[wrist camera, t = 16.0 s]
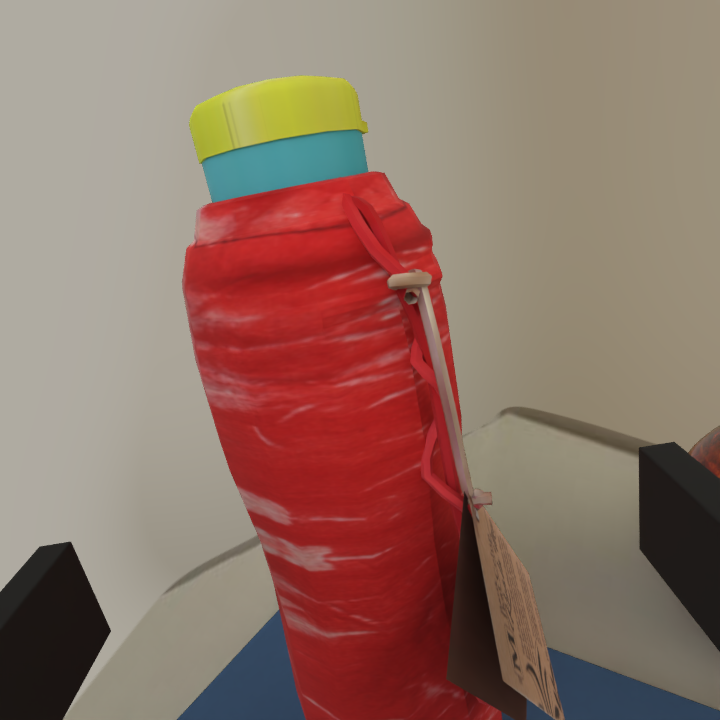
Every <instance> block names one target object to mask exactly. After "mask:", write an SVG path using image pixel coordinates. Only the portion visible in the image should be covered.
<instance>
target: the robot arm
mask: <svg viewBox="0 0 720 720" xmlns="http://www.w3.org/2000/svg"><path fill="white" fill-rule="evenodd" d="M639 526H640V550H641V551H642V553H643V554H644V555H645V556H646V558H647V559H648V560H649V562H650V563H651V564H652V565H653V567H654V568H655V569H656V571H657V572H658V573H659V574H660V576H661V577H662V578H663V579H664V581H665V582H666V583H667V585H668V586H669V587H670V588H671V590H672V591H673V592H674V594H675V595H676V596H677V597H678V599H679V600H680V601H681V603H682V604H683V605H684V606H685V608H686V609H687V610H688V612H689V613H690V614H691V615H692V617H693V618H694V619H695V621H696V622H697V623H698V624H699V626H700V627H701V628H702V629H703V631H704V632H705V633H706V635H707V636H708V637H709V638H710V640H711V641H712V642H713V644H714V645H715V646H716V647H717V649H718V650H719V651H720V478H718V477H717V476H716V475H715V474H713V473H712V472H711V471H710V470H708V469H707V468H706V467H705V466H703V465H702V464H701V463H700V462H698V461H697V460H696V459H695V458H694V457H692V456H691V455H690V454H689V453H687V452H686V451H685V450H684V449H682V448H681V447H680V446H679V445H677V444H676V443H675V442H671V443H665V444H658V445H652V446H646V447H640V448H639ZM110 632H111V630H110V628H109V625H108V623H107V621H106V619H105V616H104V614H103V612H102V610H101V608H100V605H99V603H98V601H97V599H96V596H95V594H94V592H93V590H92V588H91V585H90V583H89V581H88V579H87V576H86V574H85V572H84V570H83V568H82V565H81V564H80V561H79V559H78V556H77V554H76V552H75V550H74V548H73V545H72V543H71V542H66V543H59V544H53V545H47V546H41V547H39V548H38V549H37V550H36V552H35V553H34V554H33V555H32V556H31V557H30V558H29V560H28V561H27V562H26V563H25V564H24V565H23V566H22V568H21V569H20V570H19V571H18V572H17V573H16V574H15V576H14V577H13V578H12V579H11V580H10V581H9V583H8V584H7V585H6V586H5V587H4V588H3V589H2V591H1V592H0V720H63V718H64V716H65V714H66V712H67V711H68V709H69V707H70V705H71V703H72V701H73V699H74V697H75V696H76V694H77V692H78V690H79V689H80V686H81V685H82V683H83V681H84V679H85V677H86V676H87V674H88V672H89V670H90V668H91V667H92V665H93V663H94V661H95V659H96V658H97V656H98V654H99V652H100V650H101V648H102V647H103V645H104V643H105V641H106V639H107V637H108V635H109V634H110Z"/></svg>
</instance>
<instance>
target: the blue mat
mask: <svg viewBox="0 0 720 720" xmlns="http://www.w3.org/2000/svg"><path fill="white" fill-rule="evenodd" d="M547 650H548V654H549V658H550V662H551V666H552V670H553V674H554V678H555V682H556V686H557V690H558V694H559V698H560V702H561V706H562V710H563V714H564V718H565V720H720V711H719V710H716V709H713V708H711V707H708V706H705V705H702V704H700V703H697V702H694V701H692V700H689V699H686V698H683V697H681V696H678V695H675V694H673V693H670V692H667V691H664V690H662V689H659V688H656V687H654V686H651V685H648V684H646V683H643V682H640V681H637V680H635V679H632V678H629V677H627V676H624V675H621V674H618V673H616V672H613V671H610V670H608V669H605V668H602V667H599V666H597V665H594V664H591V663H589V662H586V661H583V660H580V659H578V658H575V657H572V656H570V655H567V654H564V653H561V652H559V651H556V650H553V649H551V648H548V647H547ZM501 714H502V720H515V719H513V718H511V717H510V716H508V715H506V714H505V713H503V712H501ZM177 720H306V718H305V715H304V712H303V709H302V706H301V703H300V700H299V697H298V693H297V690H296V686H295V681H294V676H293V672H292V667H291V662H290V657H289V653H288V648H287V643H286V639H285V634H284V629H283V624H282V620H281V615H280V610H278V611H277V612H276V614H275V615H274V616H273V617H272V618H271V619H270V620H269V621H268V622H267V623H266V624H265V625H264V626H263V628H262V629H261V630H260V631H259V632H258V633H257V634H256V635H255V636H254V637H253V638H252V639H251V640H250V642H249V643H248V644H247V645H246V646H245V647H244V648H243V649H242V650H241V651H240V652H239V653H238V654H237V656H236V657H235V658H234V659H233V660H232V661H231V662H230V663H229V664H228V665H227V666H226V667H225V668H224V670H223V671H222V672H221V673H220V674H219V675H218V676H217V677H216V678H215V679H214V680H213V681H212V682H211V684H210V685H209V686H208V687H207V688H206V689H205V690H204V691H203V692H202V693H201V694H200V695H199V696H198V698H197V699H196V700H195V701H194V702H193V703H192V704H191V705H190V706H189V707H188V708H187V709H186V710H185V712H184V713H183V714H182V715H181V716H180V717H179V718H178V719H177ZM526 720H555V719H553V718H552V717H551V716H549V715H548V714H547V713H545V712H544V711H543V710H541V709H540V708H539V707H537V706H536V705H535V704H533V703H532V702H531V701H529V700H528V699H527V717H526Z"/></svg>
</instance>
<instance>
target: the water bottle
mask: <svg viewBox="0 0 720 720" xmlns="http://www.w3.org/2000/svg"><path fill="white" fill-rule="evenodd" d="M189 126H190V130H191V134H192V138H193V141H194V145H195V149H196V152H197V156H198V160H199V163H201V164H202V166H203V169H204V173H205V176H206V180H207V184H208V188H209V191H210V195H211V199H212V203H210V204H207V205H204V206H203V207H201V208H200V209H198V210H197V214H196V225H195V236H194V241H193V242H192V243H191V244H190V245H189V247H188V248H187V249H186V256H185V264H184V272H183V279H182V286H183V294H184V299H185V305H186V310H187V316H188V321H189V327H190V332H191V338H192V343H193V349H194V354H195V360H196V363H197V366H198V370H199V373H200V376H201V379H202V383H203V386H204V390H205V393H206V396H207V399H208V403H209V406H210V409H211V413H212V416H213V419H214V423H215V426H216V429H217V432H218V436H219V439H220V442H221V445H222V448H223V451H224V454H225V457H226V460H227V463H228V466H229V469H230V472H231V474H232V476H233V479H234V481H235V483H236V486H237V488H238V490H239V493H240V495H241V497H242V499H243V502H244V504H245V507H246V509H247V511H248V513H249V516H250V518H251V520H252V523H253V525H254V527H255V529H256V532H257V534H258V537H259V539H260V541H261V544H262V547H263V551H264V554H265V557H266V560H267V563H268V566H269V570H270V573H271V576H272V579H273V582H274V587H275V591H276V596H277V601H278V605H279V610H280V615H281V620H282V624H283V629H284V634H285V639H286V643H287V648H288V653H289V657H290V662H291V667H292V672H293V676H294V681H295V686H296V690H297V693H298V697H299V700H300V703H301V706H302V709H303V712H304V715H305V718H306V720H502V714H501V712H503V713H505V714H506V715H508V716H510V717H511V718H513V719H515V720H526V717H527V699H528V700H529V701H531V702H532V703H533V704H535V705H536V706H537V707H539V708H540V709H541V710H543V711H544V712H545V713H547V714H548V715H549V716H551V717H552V718H553V719H555V720H565V718H564V714H563V710H562V706H561V702H560V698H559V694H558V690H557V686H556V682H555V678H554V674H553V670H552V666H551V662H550V658H549V654H548V650H547V645H546V641H545V637H544V633H543V629H542V625H541V621H540V617H539V613H538V609H537V605H536V601H535V597H534V593H533V589H532V585H531V581H530V577H529V573H528V572H527V570H526V569H525V567H524V566H523V564H522V563H521V561H520V560H519V558H518V557H517V555H516V554H515V552H514V551H513V550H512V548H511V547H510V545H509V544H508V542H507V541H506V539H505V538H504V536H503V535H502V533H501V532H500V530H499V529H498V527H497V526H496V524H495V523H494V521H493V520H492V518H491V517H490V515H489V514H488V512H487V511H486V509H485V508H484V506H483V505H492V495H491V492H484V491H483V490H480V489H476V488H475V489H474V490H473V487H472V482H471V477H470V473H469V468H468V464H467V459H466V454H465V450H464V445H463V440H462V429H461V428H462V427H461V411H460V404H459V397H458V389H457V382H456V375H455V368H454V362H453V354H452V347H451V340H450V333H449V326H448V319H447V312H446V305H445V301H444V297H443V293H442V289H441V286H440V281H441V278H442V272H441V269H440V267H439V264H438V262H437V259H436V257H435V256H434V254H433V252H432V245H433V243H432V235H431V232H430V230H429V229H428V228H427V227H425V226H424V225H422V224H421V222H420V221H419V219H418V218H417V216H416V214H415V213H414V211H413V210H412V208H411V206H410V205H409V204H408V203H407V202H405V201H403V200H400V199H399V198H398V196H397V194H396V193H395V191H394V189H393V187H392V186H391V184H390V182H389V180H388V178H387V177H386V175H385V173H381V172H368V168H367V162H366V156H365V150H364V144H363V139H362V134H364V133H367V132H368V127H367V122H364V121H362V119H361V113H360V107H359V101H358V95H357V93H356V91H355V89H354V88H353V87H352V86H351V85H350V84H349V82H348V81H346V80H345V79H342V78H331V77H322V76H302V75H301V76H292V77H283V78H275V79H268V80H264V81H259V82H256V83H251V84H247V85H243V86H239V87H235V88H233V89H231V90H228V91H226V92H224V93H222V94H219V95H217V96H215V97H213V98H211V99H209V100H207V101H205V102H203V103H201V104H199V105H197V106H196V107H195V109H194V111H193V113H192V116H191V118H190V122H189Z"/></svg>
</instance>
